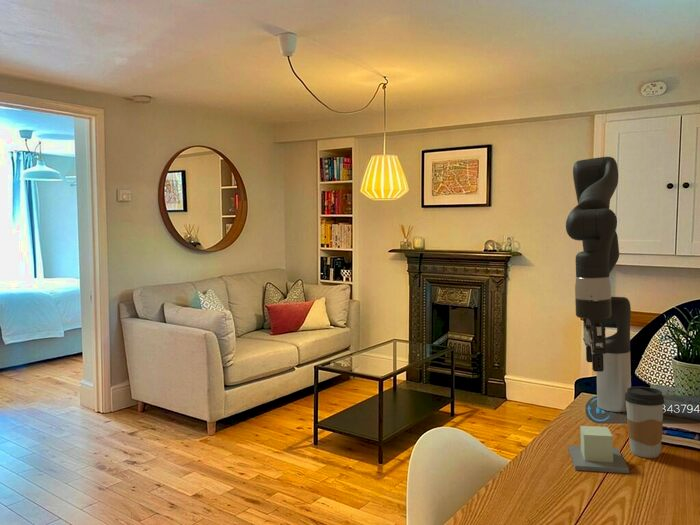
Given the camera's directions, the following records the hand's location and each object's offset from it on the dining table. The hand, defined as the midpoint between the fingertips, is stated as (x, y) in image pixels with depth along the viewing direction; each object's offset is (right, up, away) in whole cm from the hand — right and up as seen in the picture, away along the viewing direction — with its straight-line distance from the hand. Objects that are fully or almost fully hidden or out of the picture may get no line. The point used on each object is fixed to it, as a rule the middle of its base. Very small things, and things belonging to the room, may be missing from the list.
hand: (594, 366), depth 127 cm
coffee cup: (+14, -22, +4) cm, 26 cm away
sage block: (+1, -21, +1) cm, 21 cm away
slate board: (+1, -22, +1) cm, 22 cm away
